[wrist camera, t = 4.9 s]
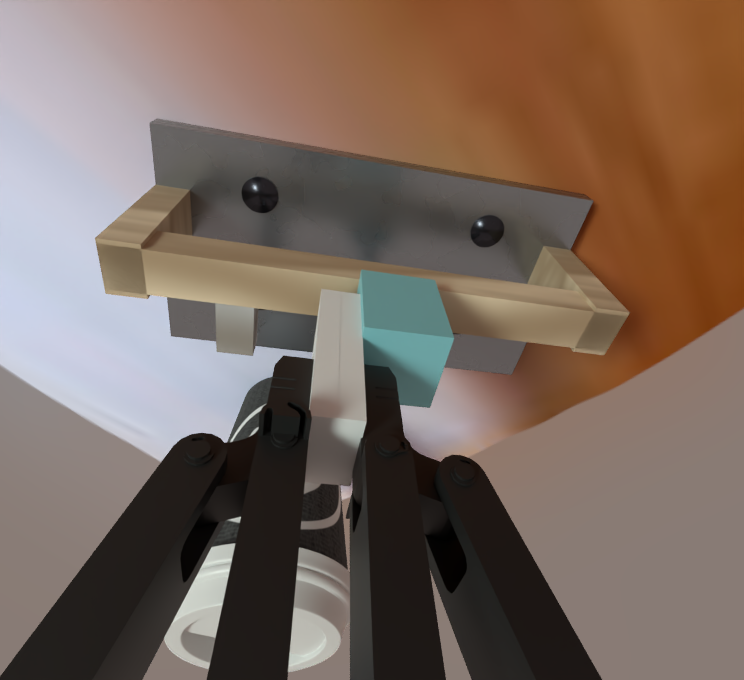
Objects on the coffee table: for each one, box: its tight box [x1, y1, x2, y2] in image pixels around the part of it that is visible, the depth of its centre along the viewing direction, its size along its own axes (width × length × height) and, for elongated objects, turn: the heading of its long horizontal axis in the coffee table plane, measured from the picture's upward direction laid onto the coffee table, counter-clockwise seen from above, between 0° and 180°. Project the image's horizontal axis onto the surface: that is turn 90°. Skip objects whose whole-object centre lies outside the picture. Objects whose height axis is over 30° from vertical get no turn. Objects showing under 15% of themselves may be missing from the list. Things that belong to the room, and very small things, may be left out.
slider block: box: [357, 270, 454, 408], centre depth 20 cm, size 6×3×10 cm, turn 170°
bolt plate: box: [150, 119, 593, 375], centre depth 26 cm, size 12×22×1 cm, turn 80°
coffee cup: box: [164, 377, 350, 672], centre depth 26 cm, size 10×10×15 cm
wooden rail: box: [95, 185, 630, 356], centre depth 22 cm, size 5×22×6 cm, turn 80°
